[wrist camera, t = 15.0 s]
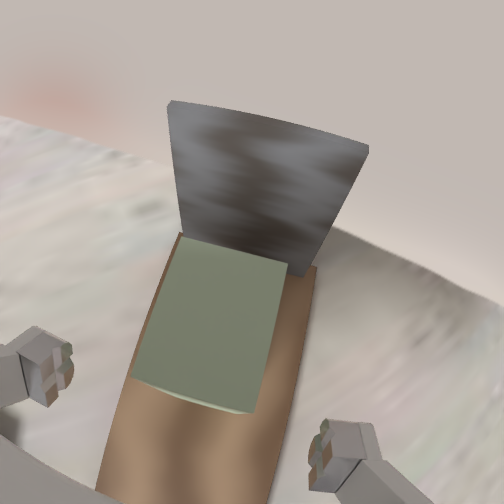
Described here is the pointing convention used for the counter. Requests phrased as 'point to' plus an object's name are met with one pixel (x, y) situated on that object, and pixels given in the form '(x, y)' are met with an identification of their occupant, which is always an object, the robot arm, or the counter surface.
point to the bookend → (288, 317)
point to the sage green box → (212, 326)
